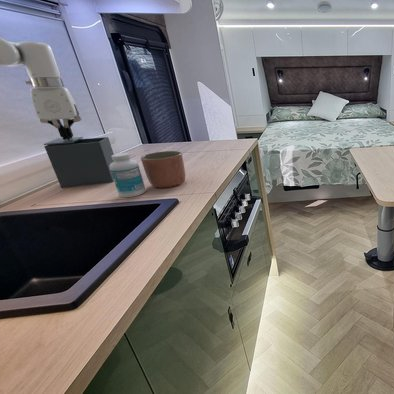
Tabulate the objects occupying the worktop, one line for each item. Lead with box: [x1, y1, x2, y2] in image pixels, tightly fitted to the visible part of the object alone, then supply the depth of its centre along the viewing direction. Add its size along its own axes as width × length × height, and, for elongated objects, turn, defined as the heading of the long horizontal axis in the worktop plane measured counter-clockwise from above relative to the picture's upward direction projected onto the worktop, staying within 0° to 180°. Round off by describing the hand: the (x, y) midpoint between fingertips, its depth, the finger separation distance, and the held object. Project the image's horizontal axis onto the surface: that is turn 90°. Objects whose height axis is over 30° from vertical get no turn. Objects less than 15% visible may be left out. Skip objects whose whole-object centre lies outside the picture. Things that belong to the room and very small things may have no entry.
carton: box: [44, 136, 114, 189], centre depth 107 cm, size 15×11×15 cm
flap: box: [43, 136, 84, 146], centre depth 103 cm, size 7×11×1 cm
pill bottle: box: [109, 152, 147, 198], centre depth 94 cm, size 8×7×14 cm
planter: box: [140, 150, 186, 189], centre depth 104 cm, size 12×12×11 cm
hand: (68, 138), depth 103 cm, fingers closed
